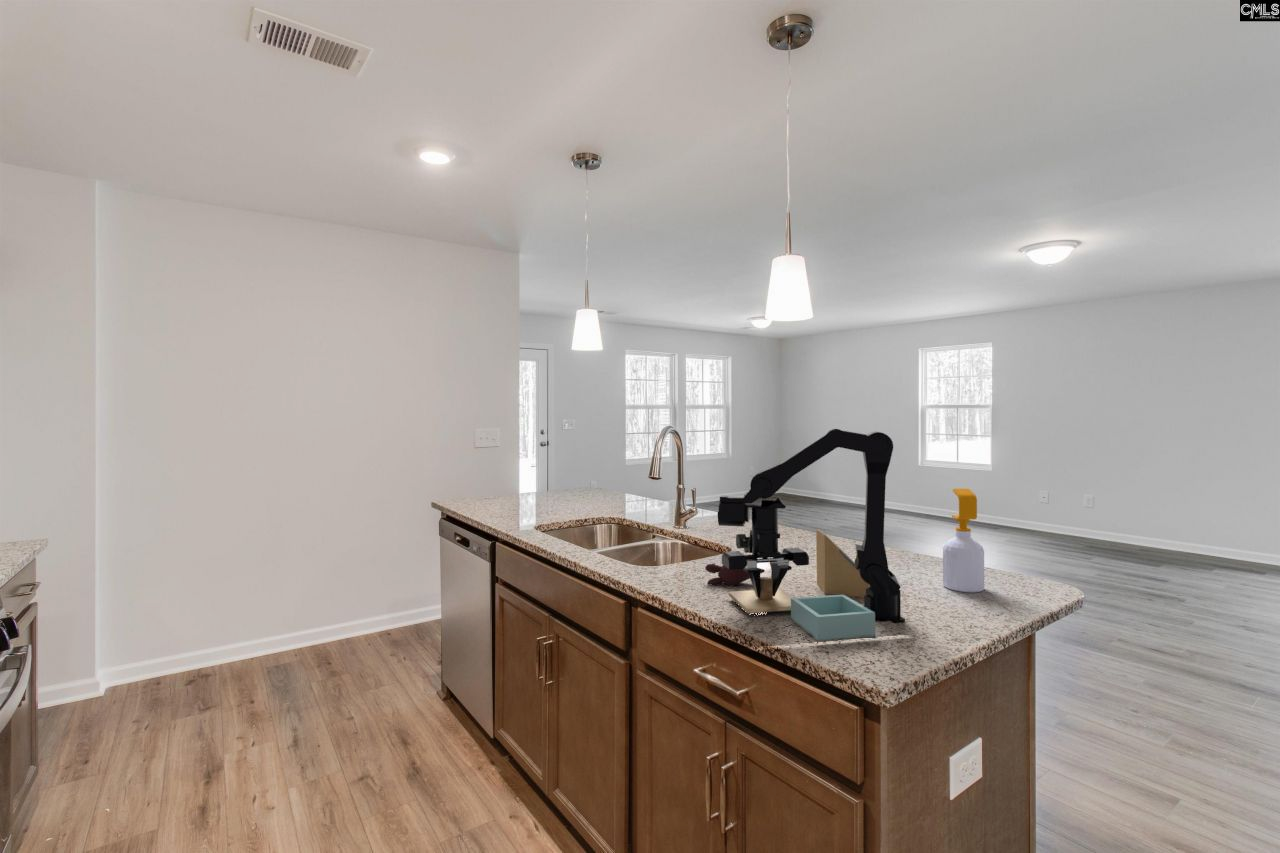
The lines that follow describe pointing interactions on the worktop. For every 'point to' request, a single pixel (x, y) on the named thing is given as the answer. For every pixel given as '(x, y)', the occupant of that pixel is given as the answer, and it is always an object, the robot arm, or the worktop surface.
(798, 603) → the light blue box
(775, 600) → the lid
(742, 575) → the icecream
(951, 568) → the soap bottle
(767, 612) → the mat
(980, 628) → the worktop surface
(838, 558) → the sandwich container
